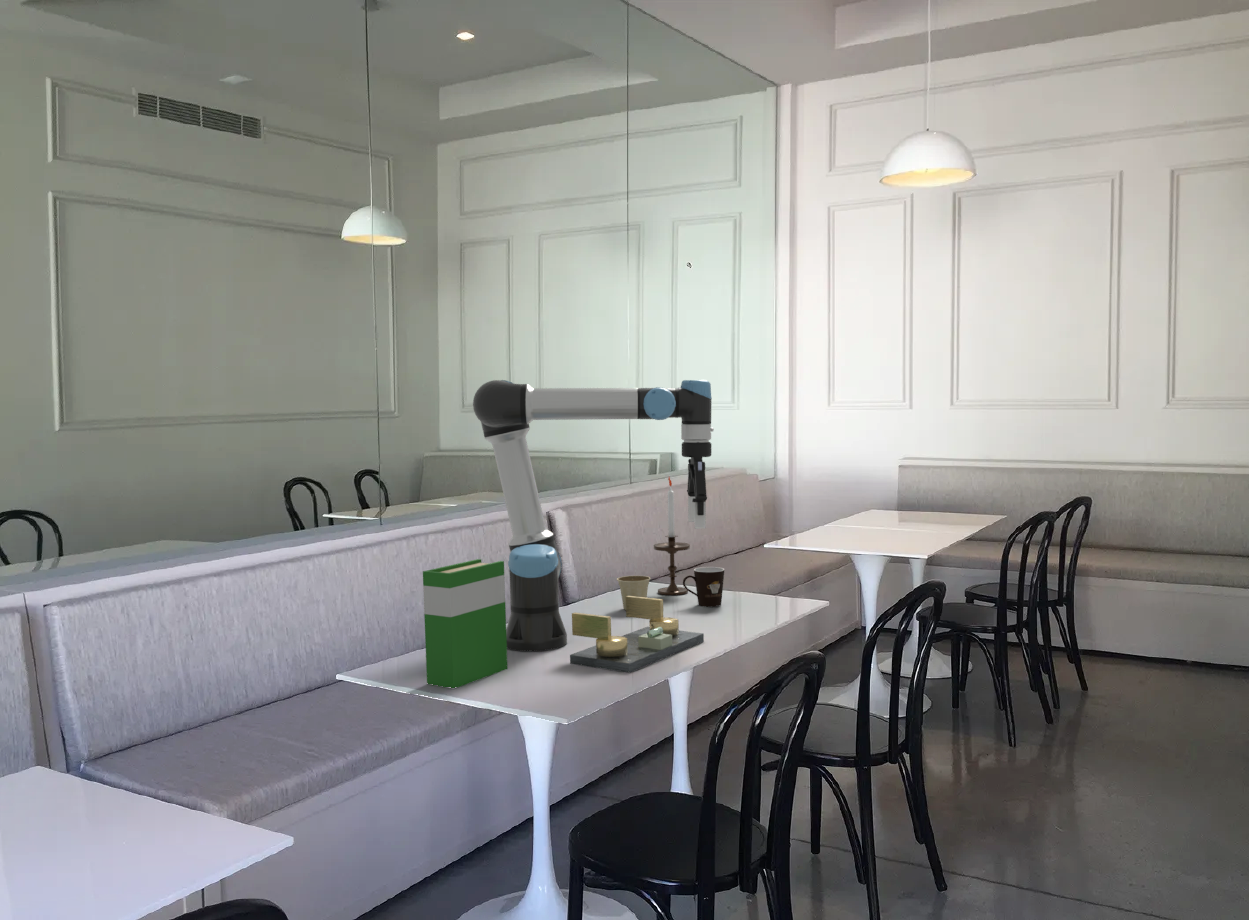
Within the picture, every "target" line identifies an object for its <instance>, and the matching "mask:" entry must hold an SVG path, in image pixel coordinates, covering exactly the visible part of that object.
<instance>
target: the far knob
mask: <svg viewBox="0 0 1249 920" xmlns="http://www.w3.org/2000/svg"><path fill="white" fill-rule="evenodd" d="M625 617H626V618H632V619H633V618H634V619H643V620H649V623H648V624H649V626H648V627H650V630H652V629H655V628H658V627H662V628H663V633H662V634H669V635H672V636H673V635H677V634H678V633H679V631H680V629H679V622H680V621H679V619H678V618H675V617H667V616H665V617H664V599H662V598H656V597H655V598H654V597H647V598H645V597H636V596H626V610H625Z"/></svg>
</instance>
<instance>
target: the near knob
mask: <svg viewBox="0 0 1249 920" xmlns="http://www.w3.org/2000/svg"><path fill="white" fill-rule="evenodd" d="M571 625H572V626H571V627H572V628H571V629H572V631H571V634H572V636H578V637H584V638H591V639H592V638H593V639H595V646H596V654H597V655H599V656H605V657H616V656H622V655H625V654H627V653H628V645H627V638H625V637H622V636H623V635H621V636H619V635H612V616H608V615H599V614H593V613H590V614H589V613H583V612H572V613H571Z"/></svg>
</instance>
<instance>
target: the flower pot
mask: <svg viewBox="0 0 1249 920" xmlns="http://www.w3.org/2000/svg"><path fill="white" fill-rule="evenodd" d="M650 580H651V577H650V576H646V575H625V576H620V577H617V578H616V581H617V582H618V586H619V588H620V590H619V591H620V593H621V594H620V595H621V600H622V607H623V610H625V611H626V596H636V597H645V598H648V589H649V584H650Z"/></svg>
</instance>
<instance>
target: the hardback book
mask: <svg viewBox="0 0 1249 920" xmlns="http://www.w3.org/2000/svg"><path fill="white" fill-rule="evenodd" d="M505 582H506V581H505V561H503V560H499V561H495V562H490V563H487V562H482V558H481V559H480V558H476V559H473V560H468V561H462V562H460V563H454V564H450V565H446V566H441V567H436V568H431V569H428V570H423V571H422V587H423V589H422V591H423V611H424V612H423V613H424V615H423V616H424V637H425V638H424V640H425V642H424V643H425V644H424V645H425V665H426V667H425V668H426V684H427V683H428V684H433V685H432V686H434V685H438V686H437V687H440V686H443V687H442V688H445V687H451V688H455V687H457V688H460V687H463V686H466V685H467V684H470V683H472V682H473V681H474V682H476V681H479V680H482V679H484V678H487V677H489V676H492V675H495V674H498V673H501V672H503V671H506V670H508V648H507V637H506V629H507V616H506V615H507V613H506V612H507V610H506V607H507V606H506V584H505ZM428 684H427V685H428ZM451 688H450V689H451ZM455 689H456V688H455Z"/></svg>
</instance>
